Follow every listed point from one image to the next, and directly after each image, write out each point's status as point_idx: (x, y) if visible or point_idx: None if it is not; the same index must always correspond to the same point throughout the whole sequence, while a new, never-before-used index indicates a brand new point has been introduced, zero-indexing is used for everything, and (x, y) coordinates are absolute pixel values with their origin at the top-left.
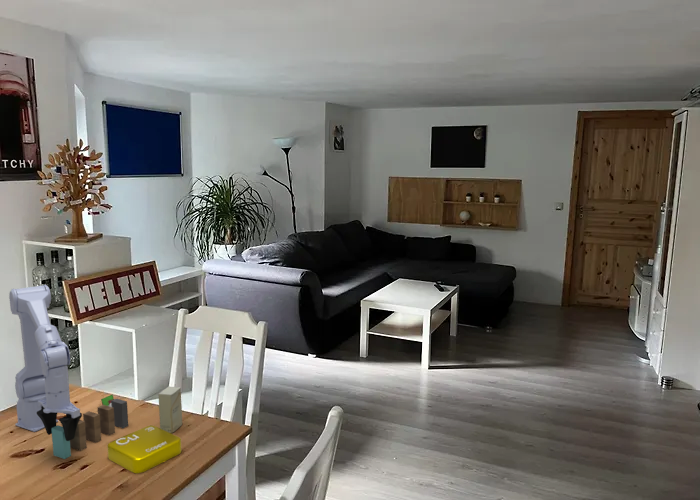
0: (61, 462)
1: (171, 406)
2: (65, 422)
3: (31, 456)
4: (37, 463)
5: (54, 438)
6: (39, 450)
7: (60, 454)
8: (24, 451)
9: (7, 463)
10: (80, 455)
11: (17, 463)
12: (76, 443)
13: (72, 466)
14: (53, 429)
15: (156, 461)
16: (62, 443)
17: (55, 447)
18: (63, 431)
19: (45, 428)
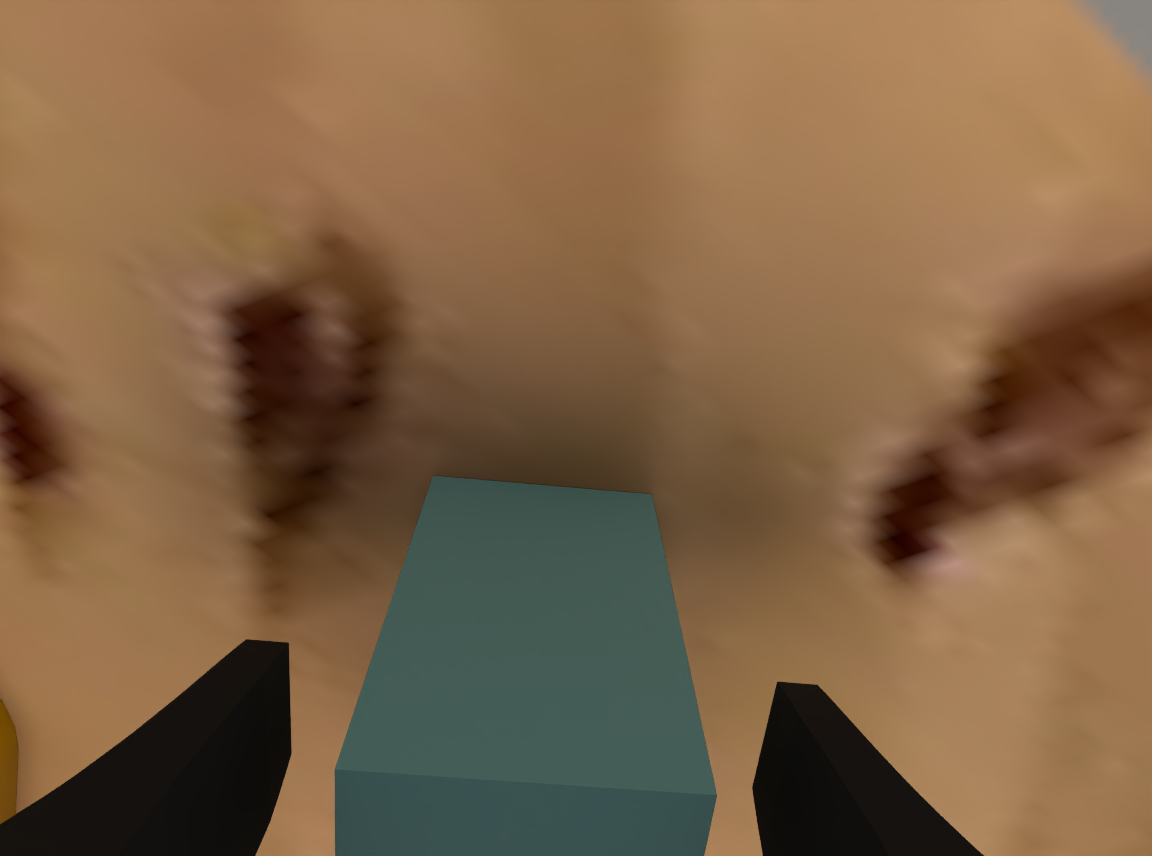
0: (398, 403)
1: None
2: None
3: (918, 370)
4: (687, 264)
5: (623, 645)
6: (929, 516)
7: (507, 504)
8: (1112, 430)
9: (1123, 96)
10: (327, 605)
11: (971, 154)
12: None
13: (171, 382)
14: (645, 778)
15: None
16: (414, 602)
17: (604, 553)
18: (337, 786)
19: (880, 760)
